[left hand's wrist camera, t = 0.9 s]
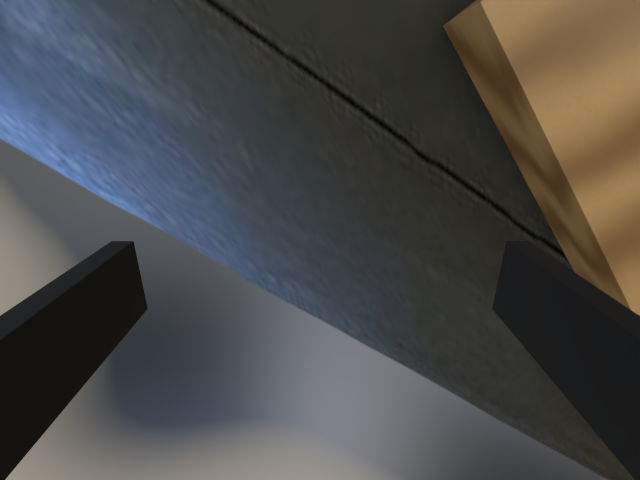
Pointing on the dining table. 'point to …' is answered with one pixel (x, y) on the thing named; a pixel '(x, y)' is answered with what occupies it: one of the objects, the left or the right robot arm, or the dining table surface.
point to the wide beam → (568, 120)
